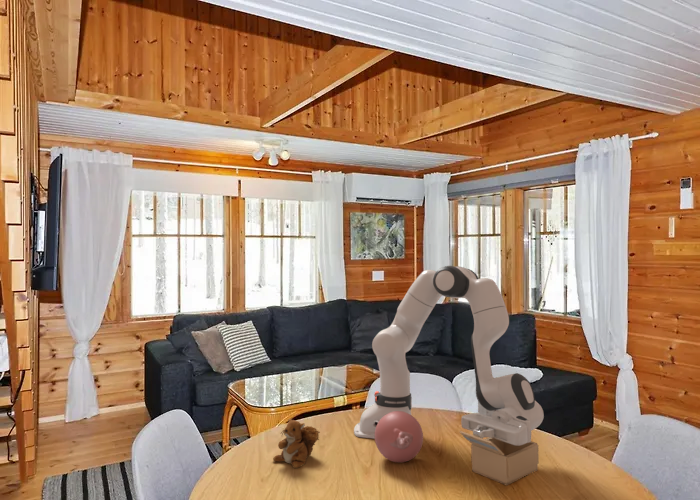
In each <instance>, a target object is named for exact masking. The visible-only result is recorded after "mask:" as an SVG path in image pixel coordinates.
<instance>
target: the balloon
mask: <svg viewBox="0 0 700 500" xmlns="http://www.w3.org/2000/svg"><path fill="white" fill-rule="evenodd" d="M374 441H375V445H376V448H377V449H378V451H379V453H380V454H381V455H382V456H383V457H384V458H385V459H387V460H389V461H391V462H392V463H399V464H401V463H405V462H409V461H411V460H412V459H414V458H416V456H417V455H418V454H419V453H420V451H421V449H422V446H423V443H424V432H423V429H422V427H421V424H420V422H419V421H418V419H416V417H414V416H413V415H412V414H411V415H410V414H408V413H406V412H402V411H394V412H390V413H388V414H386V415H385V416H383V417H382V418H381V419H380V421H379V422H378V424H377V426H376V429H375V439H374Z"/></svg>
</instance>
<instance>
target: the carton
mask: <svg viewBox="0 0 700 500" xmlns="http://www.w3.org/2000/svg"><path fill="white" fill-rule="evenodd" d="M484 439H485V440H488V441H491V442H492V443H493V444H494V445H496V446H497V447H498V448H499V449H500V450H501V451H502V452H503V453H504V456H503V455H500V454H498V453H495V452H492V451H489V450H487V449H484V448H481V447H478V446H476V445H473V444H472V443H471V447H470V448H471V451H470V452H471V454H470V455H471V468H472V470H471V471H472V472H473V473H474V474H475V473H476V474H478V475H481V476H483V477H485V478H488V479H489V480H492V481H495V482H497V483H499V484H502V485H504V486H508V485H510V484H512V483H515V482H517V481H519V480H520V478H521V479H523V478H524V476H525V477H526V475H527V476H529V475H530V473H531V474H533V473H534V471H535V472H536V471H538V470H539V469H538V468H539V463H540V462H539V459H540V458H539V444H538V442H534V441H532V440H531V442H529V443H526V444H523V445H520V446H516V445H512V444H509V443H506V442H503V441H500V440H497V439H494V438H491V437H486V438H484ZM532 472H533V473H532ZM528 474H529V475H528ZM522 477H523V478H522ZM518 479H519V480H518Z"/></svg>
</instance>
